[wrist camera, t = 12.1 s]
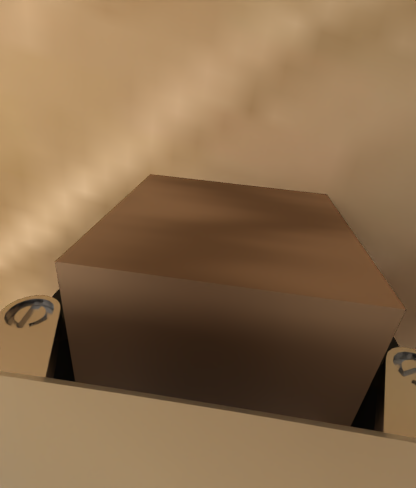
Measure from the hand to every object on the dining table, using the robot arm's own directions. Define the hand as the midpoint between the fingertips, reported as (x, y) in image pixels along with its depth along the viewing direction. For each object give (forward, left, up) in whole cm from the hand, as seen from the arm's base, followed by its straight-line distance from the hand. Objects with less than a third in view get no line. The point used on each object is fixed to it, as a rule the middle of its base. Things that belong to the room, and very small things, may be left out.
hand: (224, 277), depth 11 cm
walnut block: (0, 0, -1) cm, 1 cm away
